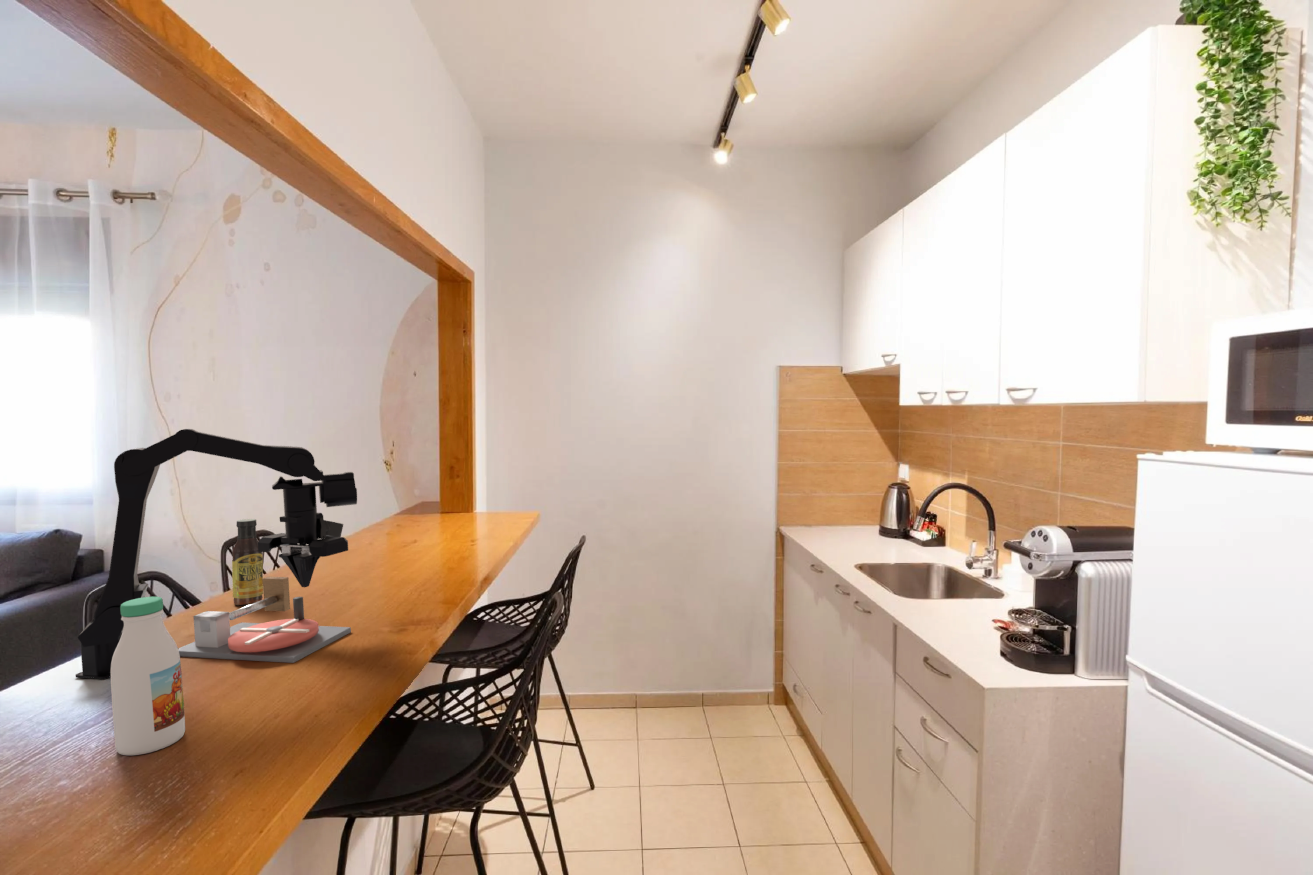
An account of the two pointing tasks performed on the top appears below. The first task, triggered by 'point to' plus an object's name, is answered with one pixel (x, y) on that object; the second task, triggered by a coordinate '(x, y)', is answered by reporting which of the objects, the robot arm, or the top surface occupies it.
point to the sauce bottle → (247, 565)
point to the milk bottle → (146, 681)
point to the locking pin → (268, 598)
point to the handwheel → (275, 632)
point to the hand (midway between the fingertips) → (305, 586)
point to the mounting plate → (214, 644)
